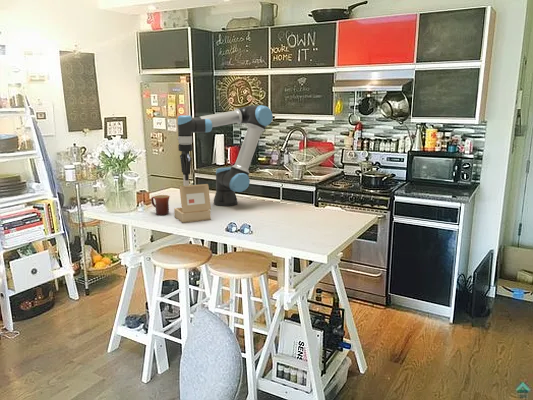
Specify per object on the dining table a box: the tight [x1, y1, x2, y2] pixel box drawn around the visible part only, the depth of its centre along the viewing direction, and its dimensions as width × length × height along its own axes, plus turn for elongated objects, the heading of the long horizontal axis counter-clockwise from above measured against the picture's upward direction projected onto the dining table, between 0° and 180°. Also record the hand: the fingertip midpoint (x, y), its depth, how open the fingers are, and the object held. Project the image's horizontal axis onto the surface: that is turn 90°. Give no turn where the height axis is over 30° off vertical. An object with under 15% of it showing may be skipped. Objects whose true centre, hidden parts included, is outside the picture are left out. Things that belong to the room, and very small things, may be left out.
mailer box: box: [174, 207, 212, 224], centre depth 249 cm, size 16×14×5 cm
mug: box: [150, 194, 171, 216], centre depth 258 cm, size 12×9×10 cm
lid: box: [179, 183, 212, 213], centre depth 241 cm, size 16×14×4 cm
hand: (186, 185), depth 253 cm, fingers closed
